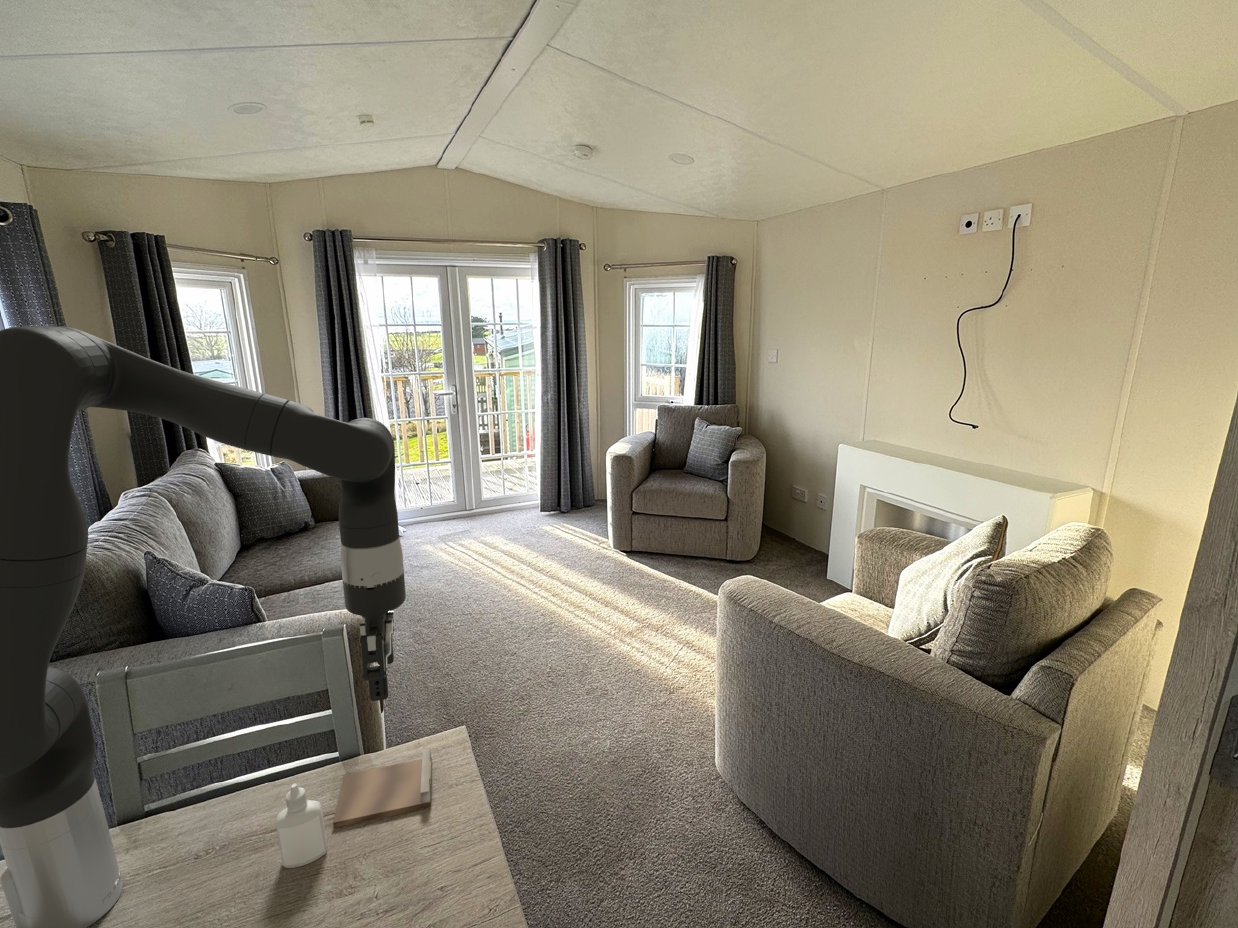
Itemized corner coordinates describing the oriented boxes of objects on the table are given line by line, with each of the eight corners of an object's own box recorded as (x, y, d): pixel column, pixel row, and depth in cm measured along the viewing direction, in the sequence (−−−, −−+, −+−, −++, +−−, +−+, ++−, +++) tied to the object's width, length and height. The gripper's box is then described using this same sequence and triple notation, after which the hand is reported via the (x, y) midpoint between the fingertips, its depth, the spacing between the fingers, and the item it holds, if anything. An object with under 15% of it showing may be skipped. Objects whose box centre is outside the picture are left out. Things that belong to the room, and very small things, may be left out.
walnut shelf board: (333, 828, 89) (331, 811, 88) (344, 779, 98) (342, 764, 97) (431, 806, 92) (429, 790, 92) (432, 761, 102) (431, 747, 101)
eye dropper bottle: (316, 870, 82) (304, 798, 79) (277, 868, 82) (264, 797, 79) (332, 843, 86) (322, 774, 83) (295, 841, 86) (283, 772, 83)
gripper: (350, 553, 83) (360, 656, 87) (332, 598, 70) (345, 717, 74) (406, 549, 85) (414, 649, 89) (399, 591, 72) (408, 707, 76)
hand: (382, 680), depth 81 cm, fingers open, 8 cm apart
